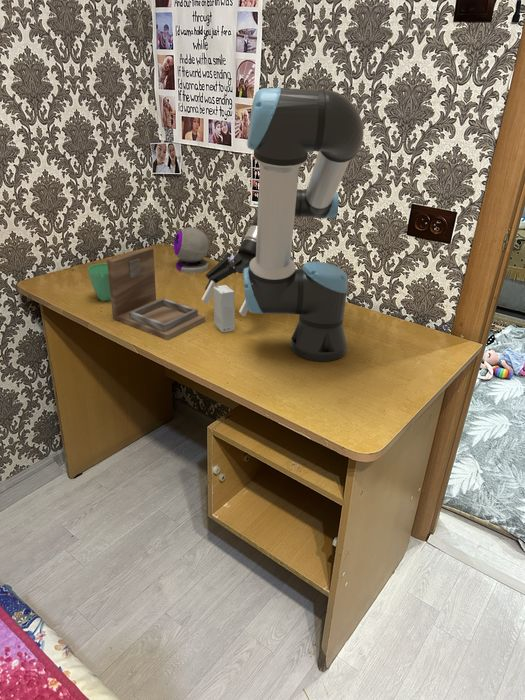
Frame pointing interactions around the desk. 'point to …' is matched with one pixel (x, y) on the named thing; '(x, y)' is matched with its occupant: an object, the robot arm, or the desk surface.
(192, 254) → the webcam
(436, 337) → the desk surface
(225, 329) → the skincare box
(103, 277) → the mug
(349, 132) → the robot arm
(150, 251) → the brown l-shaped piece
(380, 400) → the desk surface
